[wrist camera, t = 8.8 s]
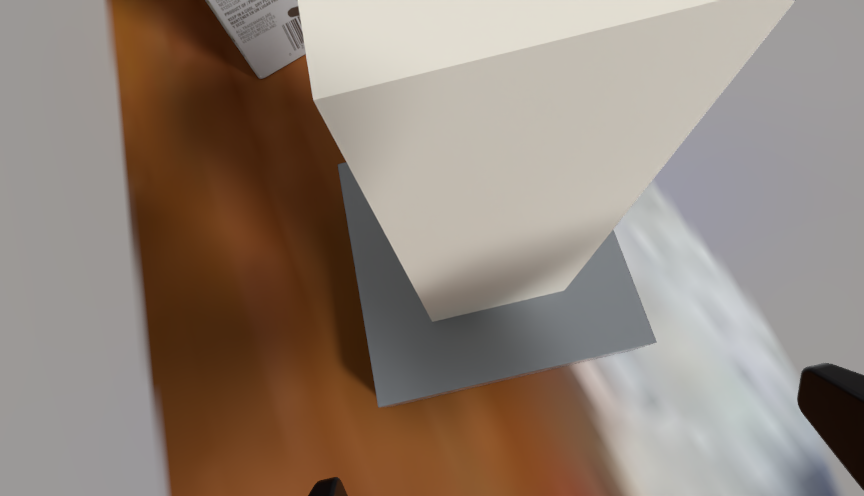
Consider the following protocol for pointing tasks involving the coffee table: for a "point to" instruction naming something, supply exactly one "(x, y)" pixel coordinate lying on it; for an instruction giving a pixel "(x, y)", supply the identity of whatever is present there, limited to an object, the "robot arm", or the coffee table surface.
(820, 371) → the robot arm
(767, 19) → the post
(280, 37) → the coffee box
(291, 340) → the coffee table surface
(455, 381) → the plinth
